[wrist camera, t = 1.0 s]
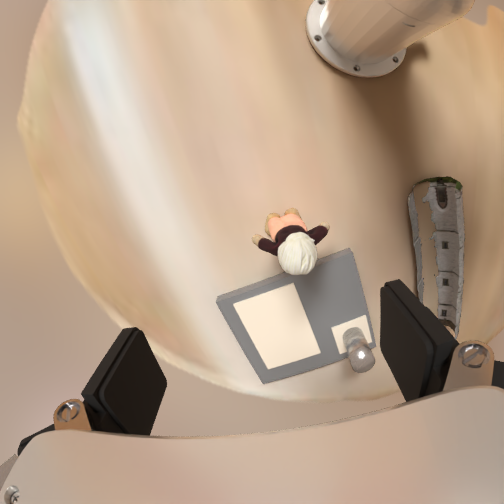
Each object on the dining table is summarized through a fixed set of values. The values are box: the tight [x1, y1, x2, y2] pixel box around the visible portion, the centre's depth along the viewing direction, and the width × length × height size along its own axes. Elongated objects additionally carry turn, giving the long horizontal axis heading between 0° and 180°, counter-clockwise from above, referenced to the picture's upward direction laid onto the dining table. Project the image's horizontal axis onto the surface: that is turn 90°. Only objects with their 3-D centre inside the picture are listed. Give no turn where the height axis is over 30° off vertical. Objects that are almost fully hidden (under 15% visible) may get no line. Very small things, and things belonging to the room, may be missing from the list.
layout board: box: [216, 248, 376, 384], centre depth 39 cm, size 18×16×2 cm
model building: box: [408, 177, 465, 339], centre depth 33 cm, size 7×7×25 cm
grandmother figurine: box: [252, 208, 330, 275], centre depth 29 cm, size 8×4×13 cm, turn 114°
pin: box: [342, 327, 375, 373], centre depth 35 cm, size 3×3×6 cm
